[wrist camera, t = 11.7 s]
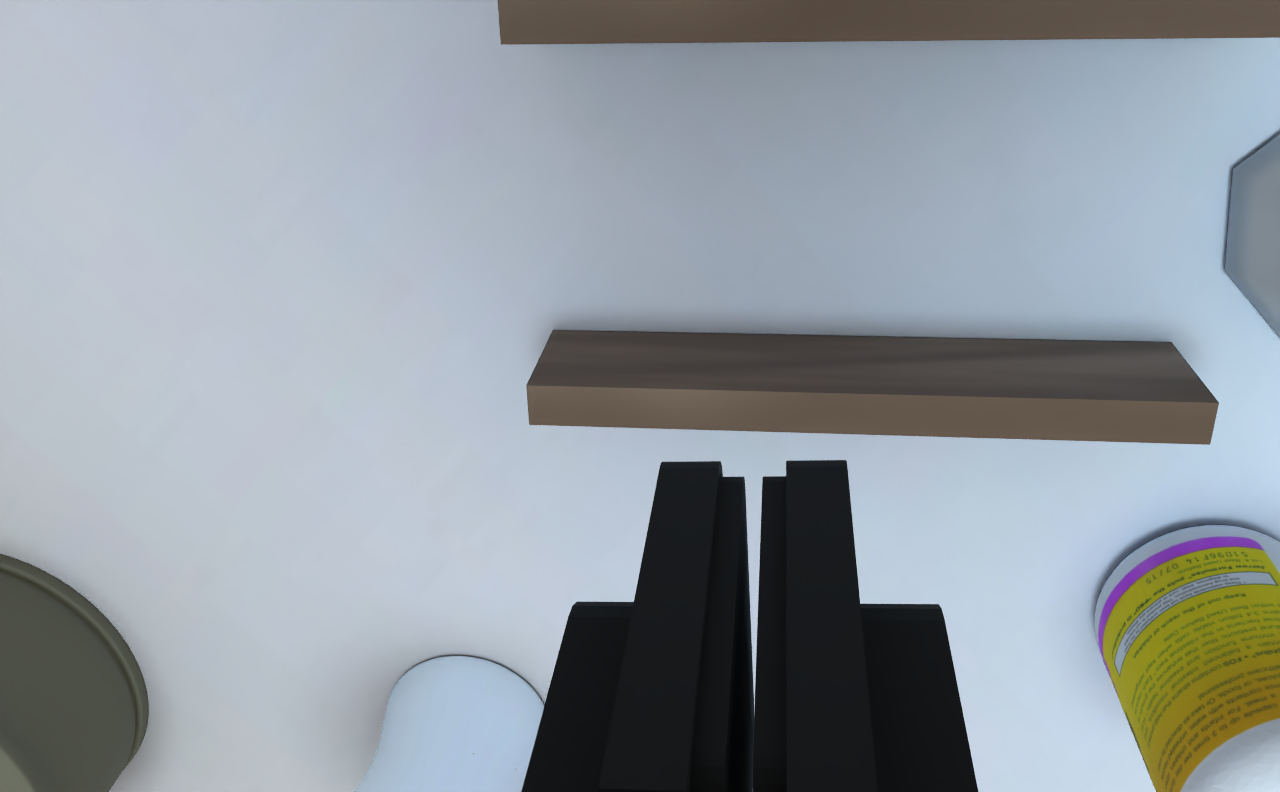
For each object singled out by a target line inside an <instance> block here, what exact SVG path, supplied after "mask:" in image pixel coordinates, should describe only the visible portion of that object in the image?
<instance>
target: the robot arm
mask: <svg viewBox="0 0 1280 792" xmlns="http://www.w3.org/2000/svg"><path fill="white" fill-rule="evenodd" d="M521 792H978V788H977V783H976V778H975V773H974V768H973V763H972V758H971V753H970V748H969V742H968V737H967V732H966V727H965V722H964V717H963V712H962V707H961V702H960V697H959V691H958V686H957V681H956V676H955V671H954V666H953V661H952V656H951V651H950V646H949V641H948V635H947V630H946V625H945V620H944V616H943V612H942V609H941V607H940V606H939V604H860V598H859V588H858V577H857V566H856V556H855V545H854V534H853V524H852V513H851V502H850V491H849V481H848V470H847V461H846V460H820V461H786V476H785V477H763V485H762V514H761V543H760V572H759V601H758V629H757V658H756V687H755V716H754V693H753V668H752V644H751V619H750V595H749V570H748V545H747V521H746V496H745V480H744V477H723V474H722V465H721V461H711V462H662V463H661V465H660V469H659V475H658V480H657V485H656V490H655V495H654V501H653V506H652V511H651V516H650V521H649V527H648V532H647V537H646V542H645V547H644V553H643V558H642V563H641V568H640V573H639V579H638V584H637V589H636V594H635V599H634V602H576V603H575V604H574V605H573V606H572V609H571V612H570V614H569V617H568V621H567V624H566V628H565V632H564V635H563V639H562V643H561V647H560V650H559V654H558V658H557V661H556V665H555V669H554V672H553V676H552V680H551V684H550V687H549V691H548V695H547V698H546V702H545V706H544V710H543V713H542V717H541V721H540V724H539V728H538V732H537V735H536V739H535V743H534V747H533V750H532V754H531V758H530V761H529V765H528V769H527V772H526V776H525V780H524V784H523V787H522V791H521Z"/></svg>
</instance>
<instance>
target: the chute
mask: <svg viewBox="0 0 1280 792" xmlns="http://www.w3.org/2000/svg"><path fill="white" fill-rule="evenodd" d="M498 10H499V24H500V37H501V44H597V43H709V42H820V41H932V40H1043V39H1155V38H1266V37H1280V0H498ZM526 386H527V400H528V413H529V425H558V426H592V427H627V428H661V429H695V430H730V431H764V432H799V433H833V434H867V435H902V436H936V437H970V438H1005V439H1039V440H1074V441H1108V442H1142V443H1177V444H1210V442H1211V437H1212V433H1213V428H1214V423H1215V419H1216V414H1217V409H1218V404H1219V402H1218V401H1217V400H1216V399H1215V397H1214V396H1213V395H1212V393H1211V392H1210V391H1209V390H1208V388H1207V387H1206V386H1205V385H1204V383H1203V382H1202V381H1201V379H1200V378H1199V377H1198V376H1197V374H1196V373H1195V372H1194V371H1193V369H1192V368H1191V367H1190V365H1189V364H1188V363H1187V362H1186V360H1185V359H1184V358H1183V356H1182V355H1181V354H1180V353H1179V351H1178V350H1177V349H1176V348H1175V346H1174V345H1173V344H1172V342H1128V341H1077V340H1026V339H975V338H924V337H873V336H822V335H771V334H720V333H668V332H617V331H566V330H553V331H552V333H551V335H550V337H549V339H548V342H547V344H546V346H545V348H544V350H543V352H542V354H541V356H540V358H539V360H538V362H537V364H536V367H535V369H534V371H533V373H532V375H531V377H530V379H529V381H528V383H527V385H526Z"/></svg>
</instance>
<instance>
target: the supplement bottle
mask: <svg viewBox="0 0 1280 792" xmlns="http://www.w3.org/2000/svg"><path fill="white" fill-rule="evenodd" d="M1094 628H1095V635H1096V640H1097V644H1098V647H1099V650H1100V653H1101V655H1102V658H1103V661H1104V664H1105V666H1106V669H1107V671H1108V673H1109V676H1110V678H1111V681H1112V683H1113V686H1114V688H1115V691H1116V693H1117V695H1118V698H1119V700H1120V703H1121V705H1122V708H1123V711H1124V713H1125V715H1126V718H1127V720H1128V723H1129V725H1130V728H1131V730H1132V732H1133V735H1134V737H1135V740H1136V742H1137V745H1138V748H1139V750H1140V753H1141V755H1142V757H1143V760H1144V762H1145V765H1146V768H1147V770H1148V773H1149V775H1150V778H1151V780H1152V783H1153V785H1154V787H1155V790H1156V792H1280V542H1279V541H1277V540H1275V539H1273V538H1271V537H1269V536H1267V535H1265V534H1262V533H1259V532H1256V531H1253V530H1250V529H1246V528H1241V527H1236V526H1227V525H1205V526H1196V527H1190V528H1185V529H1180V530H1177V531H1174V532H1171V533H1168V534H1165V535H1163V536H1160V537H1158V538H1156V539H1154V540H1152V541H1150V542H1148V543H1146V544H1145V545H1143V546H1141V547H1140V548H1138V549H1137V550H1135V551H1134V552H1132V553H1131V554H1130V555H1129V556H1127V557H1126V558H1125V559H1124V560H1123V561H1122V562H1121V563H1120V564H1119V565H1118V566H1117V568H1116V569H1115V570H1114V571H1113V573H1112V574H1111V575H1110V577H1109V578H1108V580H1107V581H1106V583H1105V585H1104V587H1103V589H1102V591H1101V593H1100V595H1099V598H1098V601H1097V605H1096V610H1095V621H1094Z"/></svg>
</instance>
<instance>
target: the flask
mask: <svg viewBox="0 0 1280 792" xmlns="http://www.w3.org/2000/svg"><path fill="white" fill-rule="evenodd" d="M1225 272H1226V273H1227V274H1228V276H1229V277H1230V278H1231V279H1232V280H1233V282H1234V283H1235V284H1236V285H1237V287H1238V288H1239V289H1240V290H1241V291H1242V293H1243V294H1244V295H1245V296H1246V297H1247V299H1248V300H1249V301H1250V302H1251V303H1252V305H1253V306H1254V307H1255V308H1256V310H1257V311H1258V312H1259V313H1260V314H1261V316H1262V317H1263V318H1264V319H1265V320H1266V322H1267V323H1268V324H1269V325H1270V327H1271V328H1272V329H1273V330H1274V331H1275V333H1276V334H1277V335H1278V336H1279V337H1280V134H1279V135H1278V136H1277V137H1275V138H1274V139H1273V140H1271V141H1270V142H1269V143H1267V144H1266V145H1264V146H1263V147H1262V148H1260V149H1259V150H1258V151H1256V152H1255V153H1254V154H1252V155H1251V156H1250V157H1248V158H1247V159H1246V160H1244V161H1243V162H1242V163H1240V164H1239V165H1238V166H1236V167H1235V168H1234V169H1233V174H1232V187H1231V199H1230V212H1229V225H1228V237H1227V250H1226V263H1225Z"/></svg>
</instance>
